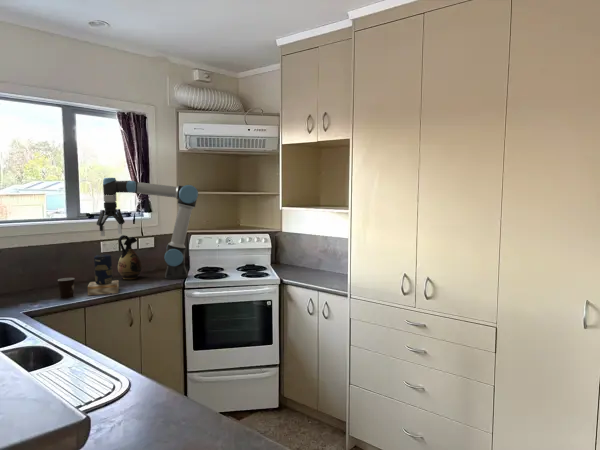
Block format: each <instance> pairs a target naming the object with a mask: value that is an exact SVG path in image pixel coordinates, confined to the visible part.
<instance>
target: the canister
mask: <svg viewBox="0 0 600 450" xmlns="http://www.w3.org/2000/svg"><path fill="white" fill-rule="evenodd" d="M112 261H113V260H112V256H111V254H106V253H101V254H96V255H95V256H93V264H94V280H95V281H94V282H95V283H96V284H108V283H111V282H112V281H113V262H112Z"/></svg>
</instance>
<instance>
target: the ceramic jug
mask: <svg viewBox="0 0 600 450" xmlns="http://www.w3.org/2000/svg"><path fill="white" fill-rule="evenodd" d="M123 239H125V241H124V242H122V241H123ZM137 242H138V240H137V238H135V236H134V237H133V236H132V237H129V236H128V235H125V234H121V236H119V238H118V244H119V246H120V249H121V255H120V257H119V260H118V264H117V271H118V274H120V276H121V277H122V279H123V280H136V279H138V277H139V275H140V274H141V272H142V268H143V266H142V262H141V259H140V256H138V253H136V252H135V250H134V249H133V248H132V245H133V244H135V243H137ZM124 246H125V247H124Z"/></svg>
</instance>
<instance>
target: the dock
mask: <svg viewBox="0 0 600 450" xmlns="http://www.w3.org/2000/svg"><path fill="white" fill-rule="evenodd" d="M119 282H120V281H119V280H118V279H116V280H112V282H111V283H108V284H96V283H95V281H90V282H89V283H88V285H87V296H97V295H110V293H112V294H118V293H119V290H120V285H119V284H120V283H119Z"/></svg>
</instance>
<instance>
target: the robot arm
mask: <svg viewBox="0 0 600 450" xmlns="http://www.w3.org/2000/svg"><path fill="white" fill-rule="evenodd" d="M102 179H103V180H102V189H103V208H104V209H100V211H99V212H100V213H99V216H98V219H97V221H96V226H99V232H100V236H101V237H105V236H106V232H105V223H106V222H107V220H108V219H109V218H111V217H113V218H114V219H115V221H116V222H117V235H123V231H122V230H123V225H124V224H125V222H126V221H125V218H124V217H123V215H122V212H121V209H120V208H117V207H118V206H117V204H118V203H117V193H123V194H124V193H128V194H129V193H130V194H142V195H148V196H149V195H150V196H156V197H165V198H166V197H167V198H174V199H176V200H177V205H178V209H177V214H176V219H175V222H174V227H173V231H172V235H171V240H170V242H168V244H167V245H166V251H165V253H164V256H163V257H164V261H165V263H166V265H167V267H166V270H165V273H164V278H165V279H166V280H168V279H169V280H180V279H182V280H183V279H185V278H188V271H187V269H186V268H187V267H186V264H185V263H186V262H185V261H186V259H185V253H186V248H187V247H186V245H185V242H186V238H187V233H188V230H189V229H188V228H189V224H190V220H191V215H192V212H193V209H195V208H196V204H197V201H198V196H199V191H198V189H197V188H196V187H195V186H194V185H191V184H186V185H177V186H174V185H165V184H164V185H163V184H159V183H158V184H155V183H151V182H149V183H148V182H147V183H146V182H140V181H139V182H138V181H134V180H117V179H116V177H104V178H102Z"/></svg>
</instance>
